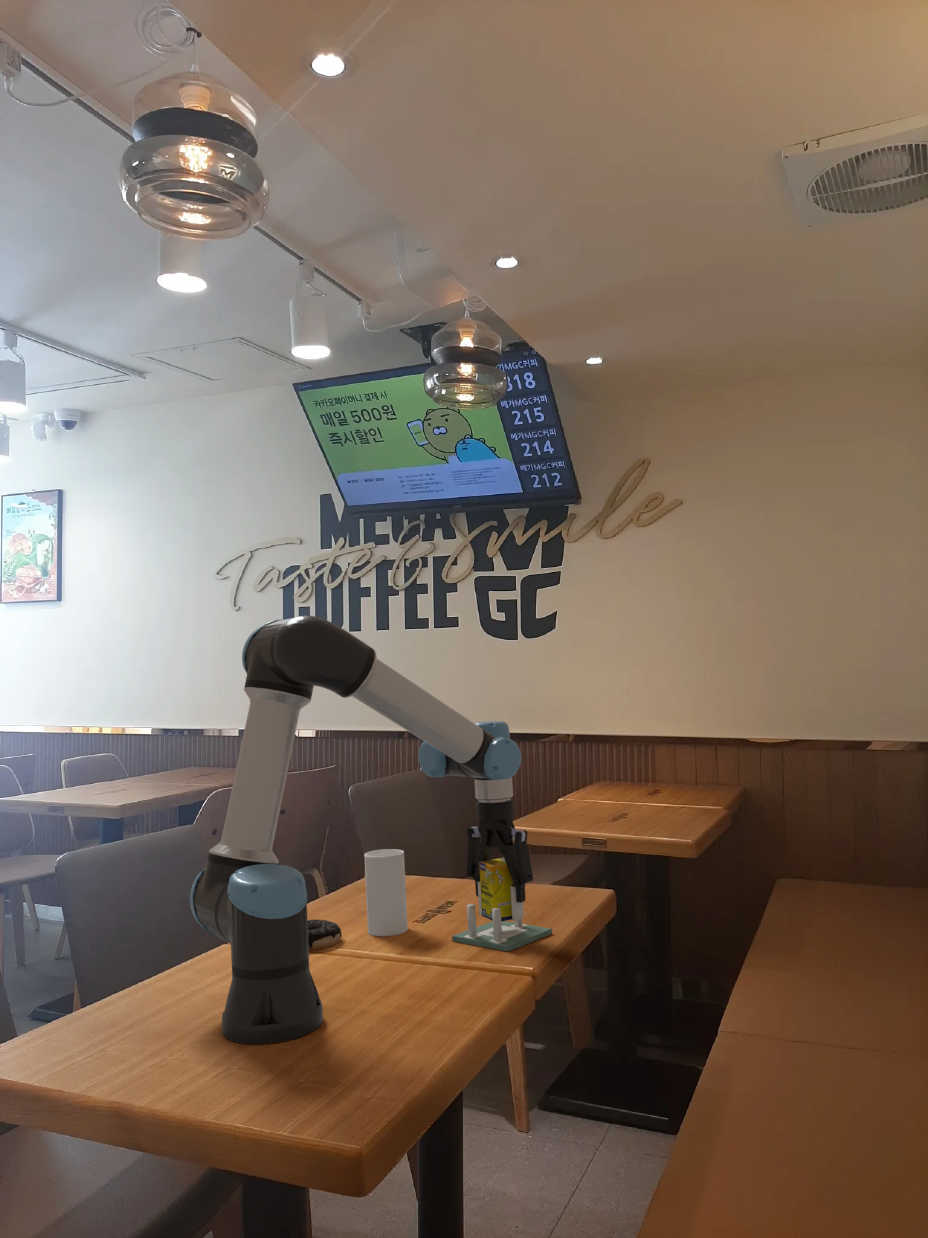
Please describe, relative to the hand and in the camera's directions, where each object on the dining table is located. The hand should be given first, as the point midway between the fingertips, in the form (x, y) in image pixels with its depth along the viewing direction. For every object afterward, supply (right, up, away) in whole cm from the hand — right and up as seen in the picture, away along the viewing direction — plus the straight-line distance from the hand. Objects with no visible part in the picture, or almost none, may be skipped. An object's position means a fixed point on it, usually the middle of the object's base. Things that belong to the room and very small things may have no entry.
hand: (501, 916), depth 189 cm
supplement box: (0, 0, 0) cm, 0 cm away
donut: (-37, -7, +3) cm, 38 cm away
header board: (0, -4, 0) cm, 4 cm away
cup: (-23, -6, +9) cm, 26 cm away
